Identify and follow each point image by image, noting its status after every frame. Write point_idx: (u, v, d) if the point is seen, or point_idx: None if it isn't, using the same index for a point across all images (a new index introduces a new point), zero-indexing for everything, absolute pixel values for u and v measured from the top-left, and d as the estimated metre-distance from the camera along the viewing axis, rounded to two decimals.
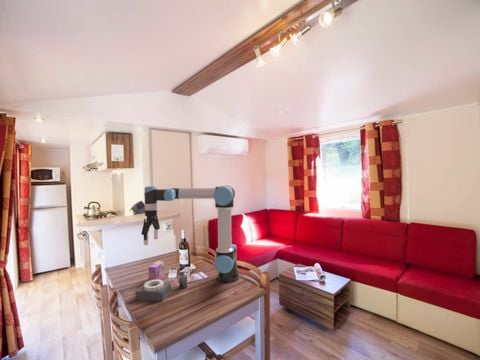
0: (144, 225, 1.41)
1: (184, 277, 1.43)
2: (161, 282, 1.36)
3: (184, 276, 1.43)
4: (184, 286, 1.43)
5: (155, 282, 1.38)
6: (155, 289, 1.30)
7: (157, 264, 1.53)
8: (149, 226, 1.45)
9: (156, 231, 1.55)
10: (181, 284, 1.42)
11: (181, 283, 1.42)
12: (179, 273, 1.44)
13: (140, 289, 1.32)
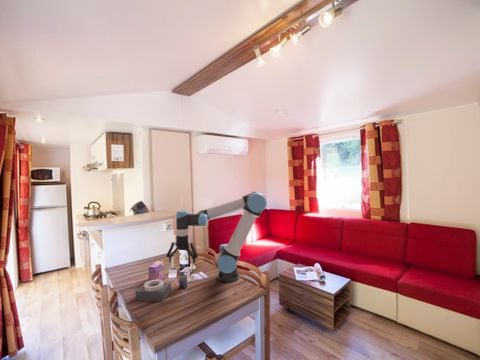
0: None
1: (184, 277, 1.43)
2: (161, 282, 1.36)
3: (184, 276, 1.43)
4: (184, 286, 1.43)
5: (155, 282, 1.38)
6: (155, 289, 1.30)
7: (157, 264, 1.53)
8: (174, 251, 1.44)
9: None
10: (181, 284, 1.42)
11: (181, 283, 1.42)
12: (179, 273, 1.44)
13: (140, 289, 1.32)
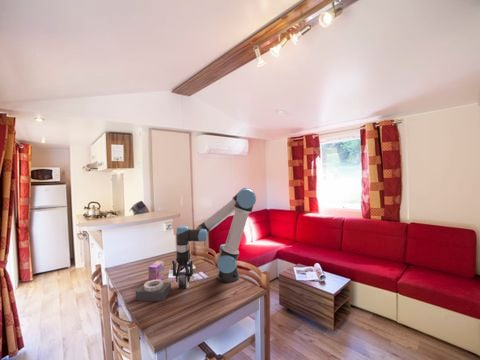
0: None
1: (184, 277, 1.43)
2: (161, 282, 1.36)
3: (184, 276, 1.43)
4: (184, 286, 1.43)
5: (155, 282, 1.38)
6: (155, 289, 1.30)
7: (157, 264, 1.53)
8: (178, 268, 1.44)
9: None
10: (181, 284, 1.42)
11: (181, 283, 1.42)
12: (179, 273, 1.44)
13: (140, 289, 1.32)
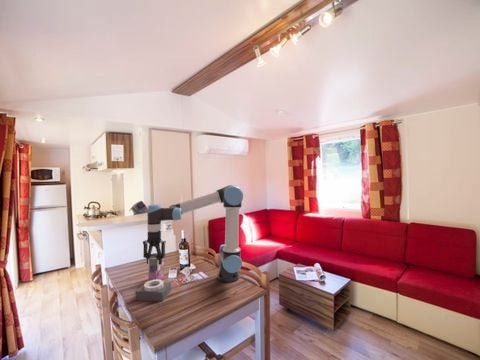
0: None
1: (155, 259, 1.33)
2: (161, 282, 1.36)
3: (155, 258, 1.33)
4: (155, 268, 1.33)
5: (155, 282, 1.38)
6: (155, 289, 1.30)
7: None
8: (149, 249, 1.34)
9: None
10: (152, 266, 1.33)
11: (152, 265, 1.33)
12: (150, 255, 1.35)
13: (140, 289, 1.32)
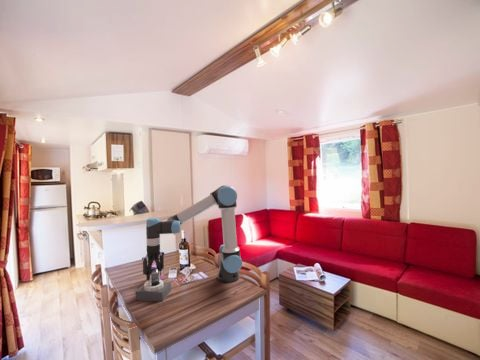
0: (143, 265, 1.30)
1: (157, 272, 1.35)
2: (161, 282, 1.36)
3: (157, 271, 1.35)
4: (157, 281, 1.35)
5: None
6: (155, 289, 1.30)
7: None
8: (150, 264, 1.32)
9: None
10: (155, 280, 1.33)
11: (156, 279, 1.33)
12: (151, 270, 1.33)
13: (140, 289, 1.32)
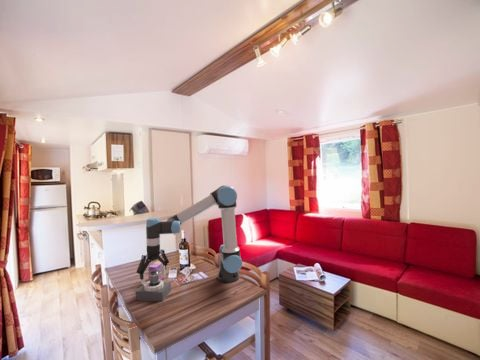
0: (140, 263, 1.29)
1: (158, 274, 1.35)
2: (161, 282, 1.36)
3: (158, 273, 1.35)
4: (158, 284, 1.35)
5: None
6: (155, 289, 1.30)
7: (157, 264, 1.53)
8: (147, 264, 1.31)
9: (163, 267, 1.40)
10: (156, 283, 1.34)
11: (156, 282, 1.33)
12: (151, 273, 1.33)
13: (140, 289, 1.32)
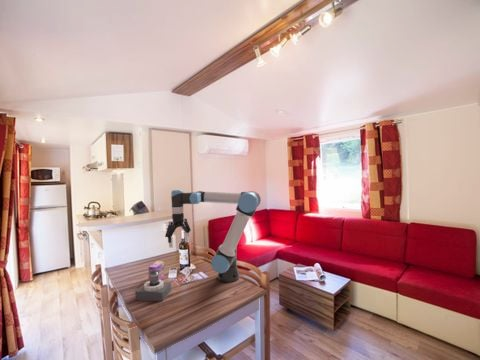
0: (168, 228, 1.45)
1: (158, 273, 1.35)
2: (161, 282, 1.36)
3: (158, 273, 1.35)
4: (158, 284, 1.35)
5: None
6: (155, 289, 1.30)
7: (157, 264, 1.53)
8: (174, 229, 1.47)
9: (186, 234, 1.57)
10: (156, 283, 1.33)
11: (156, 282, 1.33)
12: (151, 273, 1.33)
13: (140, 289, 1.32)
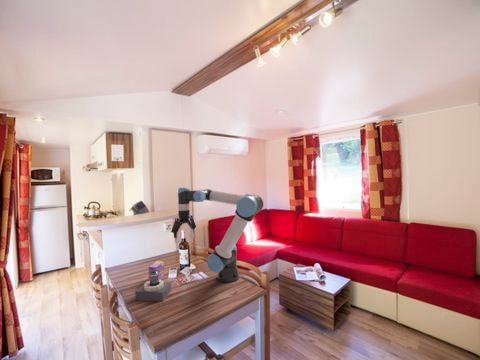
0: (174, 224, 1.50)
1: (157, 274, 1.35)
2: (161, 282, 1.36)
3: (157, 273, 1.35)
4: (158, 284, 1.35)
5: None
6: (155, 289, 1.30)
7: (157, 264, 1.53)
8: (180, 225, 1.52)
9: (191, 230, 1.62)
10: (156, 283, 1.33)
11: (156, 281, 1.33)
12: (151, 273, 1.33)
13: (140, 289, 1.32)
